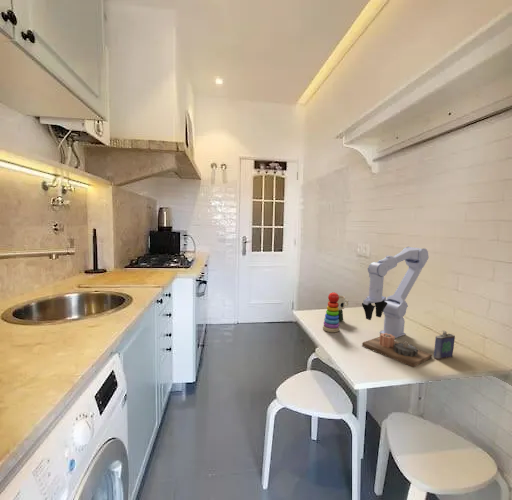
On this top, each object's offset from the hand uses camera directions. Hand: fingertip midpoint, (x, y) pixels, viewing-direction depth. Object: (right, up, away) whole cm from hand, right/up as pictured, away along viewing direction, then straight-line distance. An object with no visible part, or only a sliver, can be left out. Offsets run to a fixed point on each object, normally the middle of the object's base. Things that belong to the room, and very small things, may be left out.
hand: (373, 318), depth 138 cm
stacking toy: (-17, -8, +10) cm, 21 cm away
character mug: (-10, -7, +24) cm, 27 cm away
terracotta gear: (+2, -9, -10) cm, 14 cm away
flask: (+21, -12, -17) cm, 30 cm away
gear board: (+4, -11, -13) cm, 18 cm away
